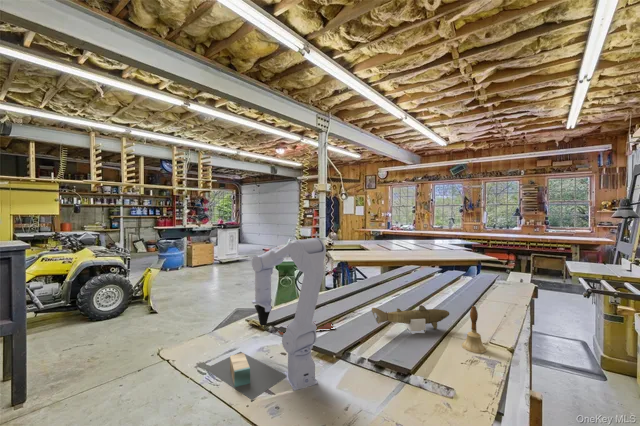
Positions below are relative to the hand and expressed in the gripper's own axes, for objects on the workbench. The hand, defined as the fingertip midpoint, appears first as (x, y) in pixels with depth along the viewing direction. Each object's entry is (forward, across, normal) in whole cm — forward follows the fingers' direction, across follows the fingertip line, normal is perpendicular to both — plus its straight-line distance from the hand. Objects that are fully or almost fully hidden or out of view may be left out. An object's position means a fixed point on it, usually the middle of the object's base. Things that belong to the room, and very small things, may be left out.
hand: (263, 324), depth 104 cm
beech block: (+8, +7, -10) cm, 15 cm away
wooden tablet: (+11, -14, +22) cm, 28 cm away
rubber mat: (+10, +10, -8) cm, 17 cm away
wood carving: (+11, +9, +62) cm, 63 cm away
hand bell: (+11, +30, +73) cm, 80 cm away
